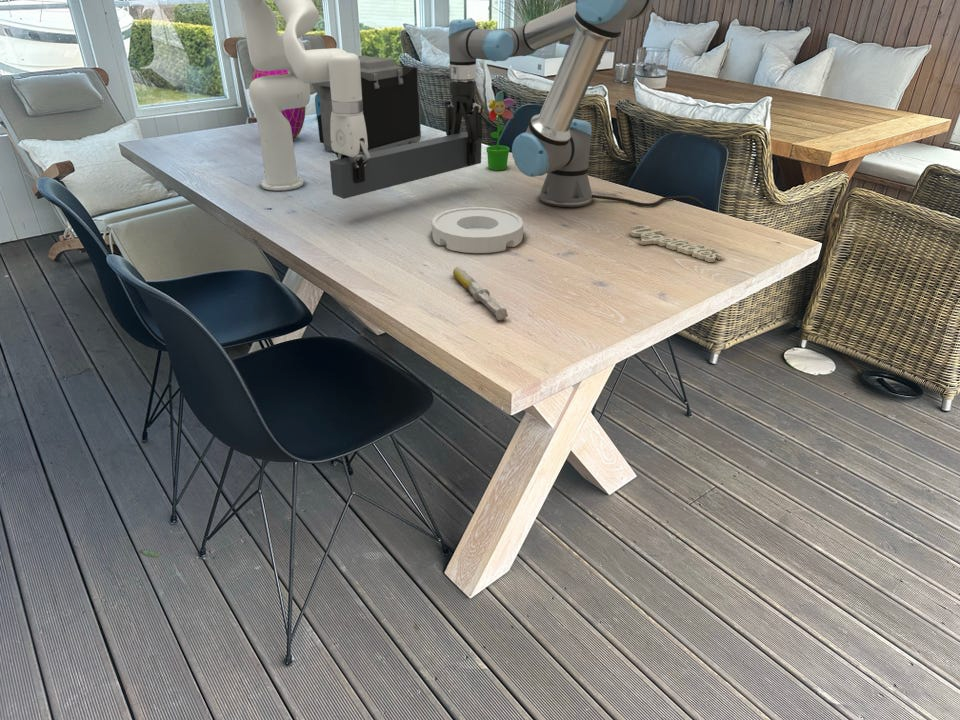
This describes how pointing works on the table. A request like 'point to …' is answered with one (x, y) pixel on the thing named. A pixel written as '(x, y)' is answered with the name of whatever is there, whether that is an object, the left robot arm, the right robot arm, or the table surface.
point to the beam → (402, 164)
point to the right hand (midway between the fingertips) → (464, 162)
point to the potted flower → (497, 152)
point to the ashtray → (477, 229)
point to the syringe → (479, 293)
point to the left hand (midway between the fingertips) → (352, 179)
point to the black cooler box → (380, 104)
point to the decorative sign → (674, 243)
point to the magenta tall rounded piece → (292, 115)
